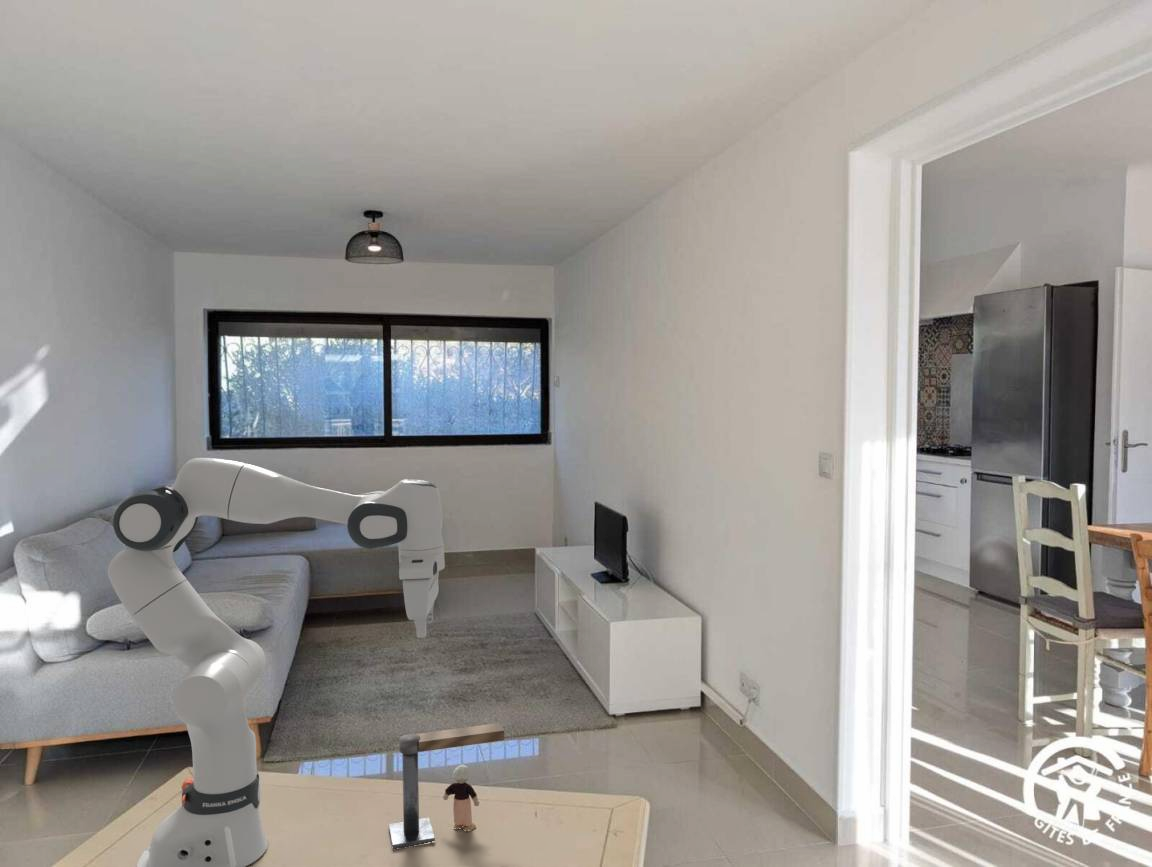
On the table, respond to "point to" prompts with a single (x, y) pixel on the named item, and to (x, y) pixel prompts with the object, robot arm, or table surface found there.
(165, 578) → the robot arm
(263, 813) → the table surface
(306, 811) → the table surface
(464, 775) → the grandmother figurine
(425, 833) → the arm post
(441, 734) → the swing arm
